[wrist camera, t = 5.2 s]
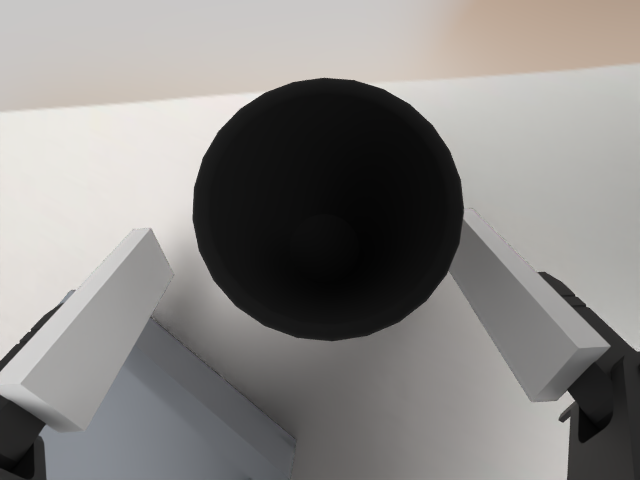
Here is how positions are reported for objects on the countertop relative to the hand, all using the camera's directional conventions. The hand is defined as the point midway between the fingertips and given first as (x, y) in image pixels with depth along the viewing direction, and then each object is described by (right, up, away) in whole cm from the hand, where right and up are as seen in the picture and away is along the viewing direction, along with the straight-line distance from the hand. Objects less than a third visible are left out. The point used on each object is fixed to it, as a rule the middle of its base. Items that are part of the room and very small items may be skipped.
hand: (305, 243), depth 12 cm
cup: (+1, -1, +7) cm, 7 cm away
